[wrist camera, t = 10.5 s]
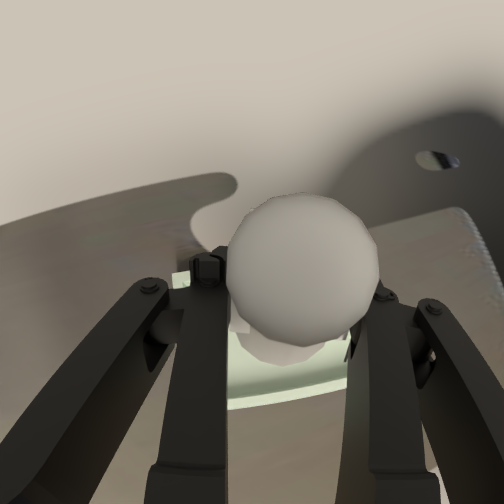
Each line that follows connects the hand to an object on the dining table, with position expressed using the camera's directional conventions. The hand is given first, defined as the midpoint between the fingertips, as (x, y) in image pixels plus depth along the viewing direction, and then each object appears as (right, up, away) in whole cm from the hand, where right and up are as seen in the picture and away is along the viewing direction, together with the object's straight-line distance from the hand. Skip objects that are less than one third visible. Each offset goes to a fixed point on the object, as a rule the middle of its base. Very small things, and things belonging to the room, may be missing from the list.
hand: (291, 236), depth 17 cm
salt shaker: (0, -5, +3) cm, 6 cm away
